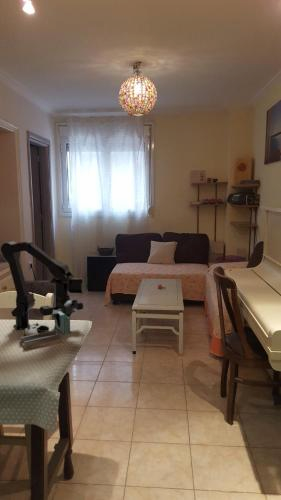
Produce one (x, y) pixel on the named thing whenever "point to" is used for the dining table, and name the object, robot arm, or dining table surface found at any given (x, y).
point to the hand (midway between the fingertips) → (62, 326)
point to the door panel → (63, 323)
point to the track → (40, 340)
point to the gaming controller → (35, 329)
